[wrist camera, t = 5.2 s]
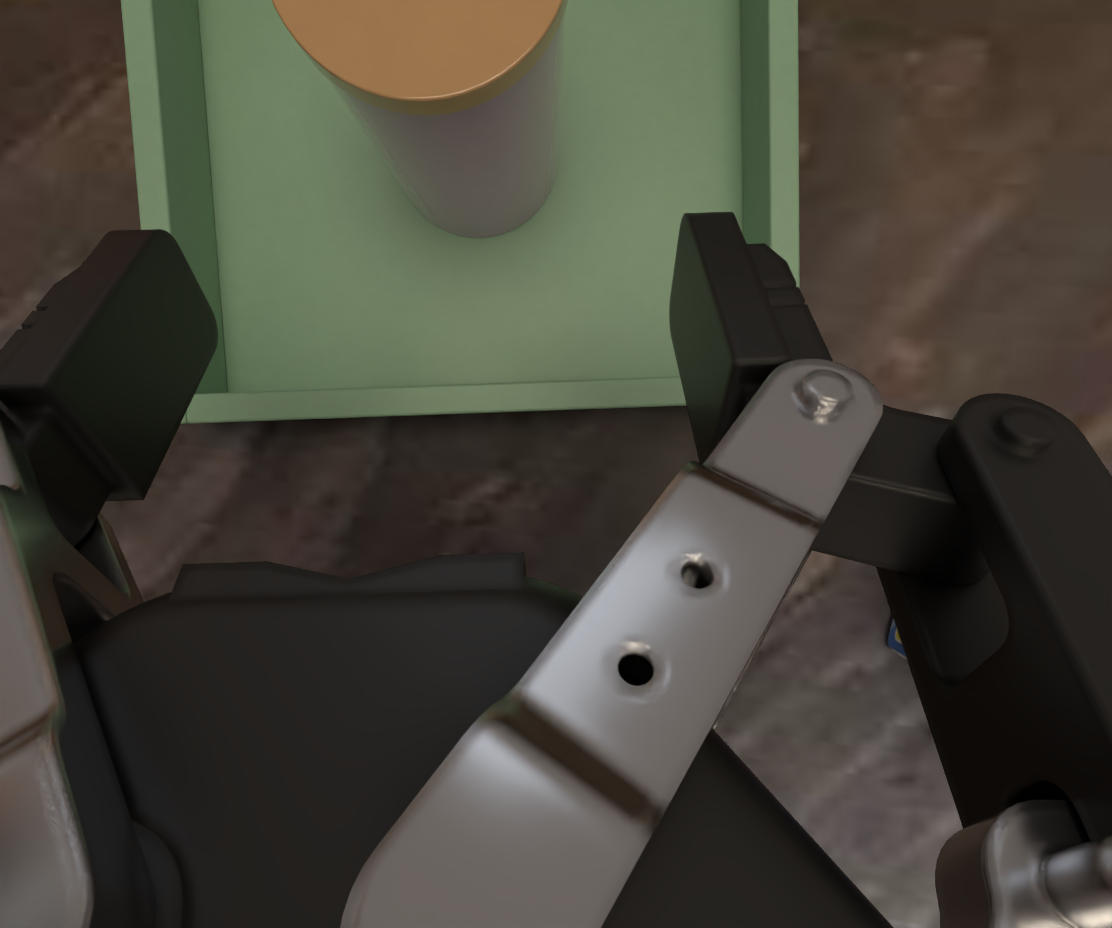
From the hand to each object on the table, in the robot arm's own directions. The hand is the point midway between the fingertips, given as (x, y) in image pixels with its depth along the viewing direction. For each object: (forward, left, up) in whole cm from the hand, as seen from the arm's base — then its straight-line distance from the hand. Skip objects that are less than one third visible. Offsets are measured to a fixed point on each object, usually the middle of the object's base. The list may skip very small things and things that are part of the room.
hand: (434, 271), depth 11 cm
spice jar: (0, +5, -9) cm, 11 cm away
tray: (0, +5, -10) cm, 11 cm away
